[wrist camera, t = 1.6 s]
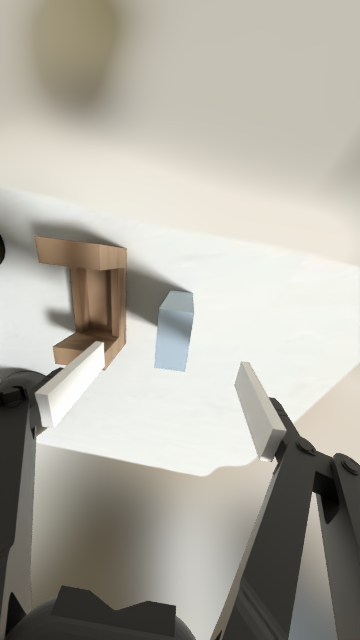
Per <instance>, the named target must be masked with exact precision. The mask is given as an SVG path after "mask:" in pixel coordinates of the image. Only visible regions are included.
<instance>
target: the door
mask: <svg viewBox="0 0 360 640" xmlns="http://www.w3.org/2000/svg"><path fill="white" fill-rule="evenodd" d="M193 317H194V304H193V293H188V292H180V291H173V290H171V291H170V292H169V294H168V295H167V297H166V298H165V300H164V301H163V303H162V305H161V306H160V308H159V314H158V327H157V340H156V353H155V366H154V368H161V369H169V370H176V371H183V372H185V369H186V362H187V356H188V349H189V343H190V336H191V330H192V323H193Z"/></svg>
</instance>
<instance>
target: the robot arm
mask: <svg viewBox="0 0 360 640" xmlns="http://www.w3.org/2000/svg"><path fill="white" fill-rule="evenodd" d="M104 367H105V360H104V342H98V341H95V342H94V343H93V344H92V345H91V346H90V347H88V348H87V349H86V350H85V351H84V352H82V353H81V354H80V355H79V356H78V357H77V358H75V359H74V360H73V361H72V362H71V363H70V364H68V365H67V366H66V367H65V368H58V369H56V370H54V371H52V372H51V373H50V374H48V375H47V377H45V376H43V375H41V374H38V373H35V372H30V371H21V372H16V373H14V374H12V375H10V376H9V377H7V378H6V379H4V380H3V381H2V382H0V640H196V639H195V637H194V636H193V634H192V633H191V631H190V630H189V628H188V627H187V626H186V625H185V624H184V623H183V621H182V620H180V619H179V618H178V617H177V616H176V615H175V614H176V606H174V605H168V604H162V603H157V602H151V601H146V602H142V603H139V604H136V605H133V606H130V607H127V608H124V609H121V610H113V609H112V608H110V607H109V606H108V605H107V604H105V603H104V602H103V601H102V600H101V599H99V598H98V597H97V596H96V595H94V594H93V593H92V592H91V591H89V590H84V589H79V588H72V587H67V586H61V589H60V591H59V594H58V596H56V597H53V598H51V599H49V600H47V601H45V602H43V603H42V604H40V605H39V606H37V607H36V608H34V609H33V610H32V591H31V581H30V564H31V542H32V520H33V498H34V476H35V453H36V436H38V435H39V434H40V433H42V432H43V431H44V430H46V429H47V428H55V427H56V425H57V424H58V423H59V422H60V421H61V419H62V418H63V417H64V416H65V414H66V413H67V412H68V411H69V410H70V408H71V407H72V406H73V405H74V403H75V402H76V401H77V400H78V399H79V397H80V396H81V395H82V394H83V392H84V391H85V390H86V389H87V388H88V386H89V385H90V384H91V383H92V381H93V380H94V379H95V378H96V377H97V375H98V374H99V373H100V372H101V370H102V369H103V368H104ZM235 388H236V391H237V394H238V397H239V400H240V403H241V406H242V409H243V412H244V415H245V418H246V421H247V424H248V427H249V430H250V433H251V436H252V439H253V442H254V445H255V448H256V451H257V454H258V457H259V460H262V461H268V462H272V461H273V459H274V456H275V457H276V459H277V462H278V464H277V466H276V468H275V470H274V472H273V477H272V479H271V482H270V485H269V487H268V490H267V493H266V495H265V498H264V501H263V504H262V506H261V509H260V511H259V514H258V517H257V520H256V522H255V525H254V528H253V531H252V533H251V536H250V538H249V541H248V544H247V546H246V549H245V552H244V554H243V557H242V560H241V562H240V565H239V568H238V570H237V573H236V576H235V578H234V581H233V584H232V586H231V589H230V592H229V594H228V597H227V600H226V602H225V605H224V608H223V610H222V612H221V615H220V617H219V619H218V622H217V624H216V626H215V629H214V632H213V634H212V637H211V639H210V640H288V637H289V631H290V624H291V618H292V611H293V605H294V600H295V594H296V587H297V581H298V575H299V569H300V563H301V557H302V551H303V545H304V538H305V532H306V526H307V520H308V514H309V508H310V501H311V495H312V492H314V493H316V497H317V504H318V511H319V518H320V524H321V531H322V538H323V545H324V551H325V558H326V565H327V571H328V577H329V585H330V591H331V598H332V604H333V611H334V618H335V625H336V631H337V638H338V640H360V465H359V464H358V463H357V462H355V461H354V460H353V459H351V458H350V457H348V456H346V455H344V454H341V453H336V454H335V455H334V456H333V458H332V457H330V456H327V455H325V454H323V453H320V452H318V451H316V449H315V448H314V446H313V445H312V444H311V443H310V442H309V441H307V440H306V439H304V438H302V437H300V435H299V433H298V432H297V430H296V428H295V427H294V425H293V423H292V422H291V420H290V418H289V417H288V415H287V414H286V412H285V410H284V409H283V407H282V405H281V404H280V403H279V402H278V401H277V400H276V399H275V398H270V397H268V396H267V394H266V392H265V390H264V388H263V387H262V385H261V383H260V381H259V379H258V377H257V376H256V374H255V372H254V370H253V368H252V367H251V365H250V363H248V362H241V364H240V368H239V371H238V374H237V378H236V381H235Z"/></svg>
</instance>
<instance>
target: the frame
mask: <svg viewBox="0 0 360 640" xmlns="http://www.w3.org/2000/svg"><path fill="white" fill-rule="evenodd" d="M35 240H36V247H37V253H38V259H39V263H46V264H54V265H62V266H69V267H70V276H71V286H72V296H73V305H74V315H75V325H76V332H75V333H74V334H72V335H71V336H69V337H67V338H66V339H64V340H63V341H61V342H60V343H58V344H56V345H55V346H53V352H54V358H55V364H61V365H68V364H70V363H71V362H72V361H73V360H74V359H75V358H77V357H78V356H79V355H80V354H81V353H82V352H84V351H85V350H86V349H87V348H88V347H90V346H91V345H92V344H93V343H94V342H95V341H98V342H104V360H105V367H104V368H103V369H102V370H106V368H107V367H108V366H109V364H110V363H111V362H112V361H113V359H114V358H115V357H116V355H117V354H118V353H119V351H120V350H121V349H122V348H123V346H124V345H125V344H126V260H127V249H125V248H119V247H113V246H107V245H101V244H93V243H85V242H77V241H69V240H61V239H54V238H46V237H38V236H35Z"/></svg>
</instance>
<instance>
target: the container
mask: <svg viewBox="0 0 360 640" xmlns="http://www.w3.org/2000/svg"><path fill="white" fill-rule="evenodd" d="M4 256H5V247H4V242H3V240H2V237H1V235H0V264H1V263H2V261H3V259H4Z"/></svg>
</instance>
